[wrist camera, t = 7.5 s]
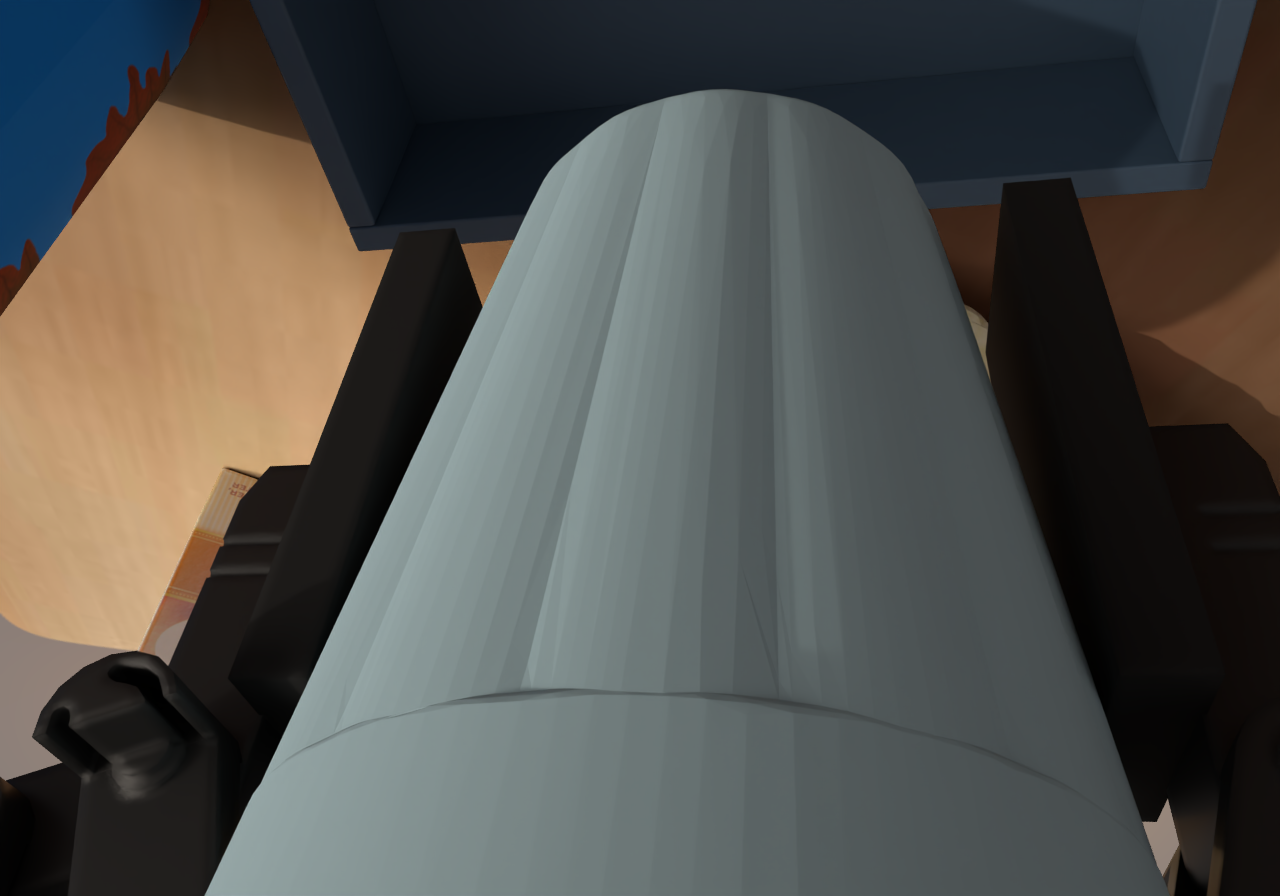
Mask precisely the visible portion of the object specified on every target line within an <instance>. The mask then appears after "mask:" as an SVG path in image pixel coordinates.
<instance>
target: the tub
mask: <svg viewBox="0 0 1280 896" xmlns="http://www.w3.org/2000/svg"><path fill="white" fill-rule="evenodd" d="M249 1H250V3H251V5H252V8H253V10H254V12H255V15H256V17H257V19H258V21H259V24H260V26H261V28H262V31H263V33H264V35H265V37H266V40H267V42H268V44H269V47H270V49H271V51H272V53H273V56H274V58H275V60H276V63H277V65H278V67H279V69H280V72H281V74H282V76H283V79H284V81H285V83H286V85H287V88H288V90H289V92H290V95H291V97H292V99H293V101H294V104H295V106H296V108H297V111H298V113H299V115H300V117H301V120H302V122H303V124H304V127H305V129H306V131H307V133H308V136H309V138H310V140H311V143H312V145H313V147H314V149H315V152H316V154H317V156H318V159H319V161H320V163H321V165H322V168H323V170H324V172H325V175H326V177H327V179H328V181H329V184H330V186H331V188H332V191H333V193H334V195H335V197H336V200H337V202H338V204H339V207H340V209H341V211H342V213H343V216H344V218H345V220H346V223H347V225H348V226H349V227H350V229H349V230H350V232H351V235H352V237H353V239H354V242H355V244H356V246H357V248H358V250H359V251H372V250H385V249H394V246H395V243H396V241H397V238H398V236H399V233H400V232H412V231H424V230H436V229H448V228H455V229H456V232H457V235H458V238H459V241H460V244H466V243H479V242H493V241H506V240H515V238H516V236H517V233H518V231H519V229H520V227H521V225H522V223H523V221H524V218H525V216H526V214H527V212H528V210H529V208H530V206H531V204H532V202H533V200H534V198H535V196H536V194H537V192H538V190H539V188H540V186H541V184H542V182H543V181H544V179H545V177H546V176H547V174H548V173H549V171H550V170H551V169H552V168H553V166H554V165H555V164H556V163H557V162H558V161H559V160H560V159H561V158H562V157H563V156H565V155H566V154H567V153H568V152H569V151H570V150H572V149H573V148H574V147H575V146H576V145H577V144H579V143H580V142H581V141H582V140H583V139H585V138H586V137H587V136H588V135H589V134H591V133H592V132H593V131H594V130H596V129H597V128H598V127H599V126H601V125H602V124H604V123H605V122H607V121H608V120H610V119H611V118H613V117H614V116H616V115H618V114H621V113H623V112H625V111H627V110H629V109H632V108H635V107H638V106H641V105H643V104H647V103H650V102H654V101H657V100H661V99H664V98H668V97H672V96H677V95H681V94H686V93H690V92H695V91H702V90H710V89H736V90H744V91H752V92H760V93H768V94H774V95H779V96H785V97H790V98H796V99H800V100H803V101H807V102H810V103H813V104H816V105H818V106H821V107H823V108H826V109H828V110H830V111H832V112H834V113H836V114H838V115H839V116H841V117H843V118H844V119H846V120H847V121H849V122H851V123H852V124H854V125H855V126H857V127H858V128H860V129H862V130H863V131H864V132H866V133H867V134H869V135H870V136H872V137H873V138H874V139H876V140H877V141H879V142H880V143H881V144H883V145H884V146H885V147H886V148H887V149H889V150H890V151H891V152H892V153H893V154H894V155H895V156H896V157H897V158H898V159H899V160H900V161H901V162H902V164H903V165H904V166H905V168H906V169H907V171H908V173H909V174H910V176H911V177H912V179H913V182H914V184H915V186H916V189H917V191H918V193H919V195H920V196H921V198H922V200H923V201H924V203H925V205H926V206H927V208H928V209H937V208H950V207H964V206H977V205H991V204H1001V199H1002V189H1003V183H1011V182H1024V181H1036V180H1048V179H1060V178H1071V180H1072V183H1073V187H1074V190H1075V193H1076V196H1077V198H1085V197H1099V196H1112V195H1126V194H1139V193H1152V192H1166V191H1179V190H1193V189H1203V188H1205V187H1206V184H1207V181H1208V177H1209V173H1210V170H1211V166H1212V163H1213V161H1212V159H1213V158H1214V155H1215V151H1216V147H1217V144H1218V140H1219V137H1220V133H1221V129H1222V126H1223V122H1224V119H1225V115H1226V111H1227V108H1228V104H1229V101H1230V97H1231V93H1232V90H1233V86H1234V82H1235V79H1236V75H1237V72H1238V68H1239V64H1240V61H1241V57H1242V54H1243V50H1244V46H1245V43H1246V39H1247V36H1248V32H1249V28H1250V25H1251V21H1252V18H1253V14H1254V10H1255V7H1256V3H1257V0H249Z"/></svg>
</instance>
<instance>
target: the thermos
mask: <svg viewBox="0 0 1280 896" xmlns="http://www.w3.org/2000/svg"><path fill="white" fill-rule="evenodd" d="M209 3H210V0H0V316H1V315H2V313H3V312H4V311H5V309H6V308H7V306H8V305H9V304H10V302H11V301H12V299H13V298H14V297H15V295H16V294H17V292H18V291H19V290H20V288H21V287H22V286H23V284H24V283H25V281H26V280H27V279H28V277H29V276H30V274H31V273H32V272H33V270H34V269H35V268H36V266H37V265H38V263H39V262H40V261H41V259H42V258H43V256H44V255H45V254H46V252H47V251H48V250H49V248H50V247H51V245H52V244H53V243H54V241H55V240H56V238H57V237H58V236H59V234H60V233H61V232H62V230H63V229H64V227H65V226H66V225H67V223H68V222H69V220H70V219H71V218H72V216H73V215H74V214H75V212H76V211H77V209H78V208H79V207H80V205H81V204H82V202H83V201H84V200H85V198H86V197H87V196H88V194H89V193H90V191H91V190H92V189H93V187H94V186H95V184H96V183H97V182H98V180H99V179H100V178H101V176H102V175H103V173H104V172H105V171H106V169H107V168H108V166H109V165H110V164H111V162H112V161H113V160H114V158H115V157H116V155H117V154H118V153H119V151H120V150H121V148H122V147H123V146H124V144H125V143H126V142H127V140H128V139H129V137H130V136H131V135H132V133H133V132H134V130H135V129H136V128H137V126H138V125H139V123H140V122H141V121H142V119H143V118H144V117H145V115H146V114H147V112H148V111H149V110H150V108H151V107H152V105H153V104H154V103H155V101H156V100H157V99H158V97H159V96H160V94H161V93H162V92H163V90H164V88H165V87H166V85H167V83H168V82H169V80H170V78H171V76H172V75H173V73H174V71H175V70H176V68H177V66H178V64H179V63H180V61H181V59H182V58H183V56H184V54H185V52H186V51H187V49H188V47H189V46H190V44H191V42H192V40H193V39H194V37H195V35H196V34H197V32H198V30H199V28H200V27H201V25H202V23H203V22H204V20H205V18H206V16H207V15H208V9H209Z"/></svg>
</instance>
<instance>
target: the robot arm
mask: <svg viewBox="0 0 1280 896" xmlns="http://www.w3.org/2000/svg"><path fill="white" fill-rule="evenodd" d="M482 308H483V307H482V304H481V301H480V298H479V295H478V293H477V290H476V287H475V284H474V281H473V278H472V275H471V272H470V270H469V267H468V264H467V261H466V258H465V255H464V252H463V249H462V247H461V244H460V241H459V238H458V235H457V232H456V229H455V228H448V229H436V230H424V231H412V232H400V233H399V236H398V238H397V241H396V243H395V246H394V249H393V251H392V254H391V256H390V259H389V262H388V264H387V267H386V269H385V272H384V274H383V277H382V280H381V282H380V285H379V287H378V290H377V293H376V295H375V298H374V300H373V303H372V306H371V308H370V311H369V313H368V316H367V318H366V321H365V324H364V326H363V329H362V331H361V334H360V337H359V339H358V342H357V344H356V347H355V350H354V352H353V355H352V357H351V360H350V362H349V365H348V368H347V370H346V373H345V375H344V378H343V381H342V383H341V386H340V388H339V391H338V394H337V396H336V399H335V401H334V404H333V406H332V409H331V412H330V414H329V417H328V419H327V422H326V425H325V427H324V430H323V432H322V435H321V438H320V440H319V443H318V445H317V448H316V451H315V453H314V456H313V458H312V461H311V463H310V465H292V466H270V467H269V468H268V469H267V470H266V472H265V473H264V474H263V475H262V476H261V477H260V478H259V479H258V481H257V482H256V483H255V484H254V485H253V486H252V487H251V488H250V490H249V491H248V492H247V493H246V494H245V495H244V496H243V497H242V499H241V500H240V501H239V503H238V505H237V508H236V510H235V512H234V515H233V517H232V519H231V522H230V524H229V526H228V529H227V531H226V533H225V536H224V538H223V540H224V545H223V546H220V547H219V549H218V552H217V554H216V556H215V559H214V561H213V563H212V566H211V568H210V572H211V575H210V577H209V578H206V580H205V582H204V584H203V587H202V589H201V591H200V593H199V596H198V598H197V600H196V603H195V605H194V607H193V610H192V612H191V614H190V617H189V619H188V621H187V624H186V626H185V628H184V631H183V633H182V635H181V638H180V640H179V642H178V644H177V647H176V649H175V651H174V654H173V656H172V658H171V661H170V663H169V665H167V664H166V663H165V662H164V661H163V660H162V659H161V658H160V657H159V656H156V655H152V654H148V653H144V652H140V651H132V652H125V653H118V654H111V655H109V656H107V657H105V658H102V659H100V660H98V661H96V662H94V663H92V664H89V665H87V666H85V667H83V668H82V669H81V670H80V671H79V672H77V673H76V674H75V675H74V676H72V677H71V678H70V679H69V680H67V681H66V682H65V683H64V684H62V685H61V686H60V687H59V688H58V690H57V691H56V692H55V694H54V695H53V696H52V698H51V699H50V700H49V702H48V703H47V704H46V706H45V707H44V708H43V710H42V711H41V714H40V716H39V719H38V722H37V725H36V728H35V730H34V733H33V736H32V737H33V738H34V739H35V740H36V741H37V742H38V743H39V744H41V745H42V746H43V747H45V748H46V749H47V750H48V751H49V752H50V753H52V754H53V755H54V756H55V757H57V758H58V759H59V760H60V761H62V762H63V763H60V764H57V765H54V766H51V767H47V768H44V769H41V770H38V771H35V772H32V773H28V774H26V775H22V776H19V777H16V778H13V779H9V780H6V781H5V780H4V779H2V778H1V777H0V896H205V894H206V892H207V890H208V888H209V886H210V883H211V881H212V879H213V877H214V875H215V873H216V871H217V869H218V866H219V864H220V862H221V860H222V858H223V856H224V854H225V851H226V849H227V847H228V845H229V843H230V841H231V839H232V837H233V834H234V832H235V830H236V828H237V826H238V824H239V822H240V820H241V817H242V815H243V813H244V811H245V809H246V807H247V805H248V803H249V801H250V799H251V797H252V795H253V793H254V792H255V791H256V789H257V788H258V787H259V785H260V784H261V782H262V780H263V778H264V775H265V773H266V771H267V769H268V767H269V765H270V763H271V760H272V758H273V756H274V754H275V752H276V750H277V748H278V745H279V743H280V741H281V739H282V737H283V735H284V733H285V730H286V728H287V726H288V724H289V722H290V720H291V718H292V715H293V713H294V711H295V709H296V707H297V705H298V703H299V700H300V698H301V696H302V694H303V692H304V690H305V688H306V685H307V683H308V681H309V679H310V677H311V675H312V673H313V670H314V668H315V666H316V664H317V662H318V660H319V658H320V655H321V653H322V651H323V649H324V647H325V645H326V643H327V640H328V638H329V636H330V634H331V632H332V630H333V628H334V625H335V623H336V621H337V619H338V617H339V615H340V613H341V610H342V608H343V606H344V604H345V602H346V600H347V598H348V595H349V593H350V591H351V589H352V587H353V585H354V583H355V580H356V578H357V576H358V574H359V572H360V570H361V568H362V565H363V563H364V561H365V559H366V557H367V555H368V553H369V550H370V548H371V546H372V544H373V542H374V540H375V538H376V535H377V533H378V531H379V529H380V527H381V525H382V523H383V520H384V518H385V516H386V514H387V512H388V510H389V508H390V505H391V503H392V501H393V499H394V497H395V495H396V493H397V490H398V488H399V486H400V484H401V482H402V480H403V478H404V475H405V473H406V471H407V469H408V467H409V465H410V462H411V460H412V458H413V456H414V454H415V452H416V450H417V447H418V445H419V443H420V441H421V439H422V437H423V435H424V432H425V430H426V428H427V426H428V424H429V422H430V420H431V417H432V415H433V413H434V411H435V409H436V407H437V405H438V402H439V400H440V398H441V396H442V394H443V392H444V390H445V387H446V385H447V383H448V381H449V379H450V377H451V375H452V372H453V370H454V368H455V366H456V364H457V362H458V360H459V357H460V355H461V353H462V351H463V349H464V347H465V345H466V342H467V340H468V338H469V336H470V334H471V332H472V330H473V327H474V325H475V323H476V321H477V319H478V317H479V315H480V312H481V310H482ZM985 353H986V359H987V364H988V369H989V375H990V380H991V384H992V387H993V390H994V393H995V396H996V399H997V402H998V405H999V408H1000V410H1001V413H1002V416H1003V419H1004V422H1005V425H1006V428H1007V431H1008V434H1009V437H1010V440H1011V442H1012V445H1013V448H1014V451H1015V454H1016V457H1017V460H1018V463H1019V466H1020V469H1021V471H1022V474H1023V477H1024V480H1025V483H1026V486H1027V489H1028V492H1029V495H1030V498H1031V501H1032V503H1033V506H1034V509H1035V512H1036V515H1037V518H1038V521H1039V524H1040V527H1041V530H1042V532H1043V535H1044V538H1045V541H1046V544H1047V547H1048V550H1049V553H1050V556H1051V559H1052V562H1053V564H1054V567H1055V570H1056V573H1057V576H1058V579H1059V582H1060V585H1061V588H1062V591H1063V594H1064V596H1065V599H1066V602H1067V605H1068V608H1069V611H1070V614H1071V617H1072V620H1073V623H1074V625H1075V628H1076V631H1077V634H1078V637H1079V640H1080V643H1081V646H1082V649H1083V652H1084V655H1085V657H1086V660H1087V663H1088V666H1089V669H1090V672H1091V675H1092V678H1093V681H1094V684H1095V686H1096V689H1097V692H1098V695H1099V698H1100V701H1101V704H1102V707H1103V710H1104V713H1105V716H1106V718H1107V721H1108V724H1109V727H1110V730H1111V733H1112V736H1113V739H1114V742H1115V745H1116V747H1117V750H1118V753H1119V756H1120V759H1121V762H1122V765H1123V768H1124V771H1125V774H1126V777H1127V779H1128V782H1129V785H1130V788H1131V791H1132V794H1133V797H1134V800H1135V803H1136V806H1137V808H1138V811H1139V814H1140V817H1141V820H1142V822H1145V821H1146V822H1157V820H1158V818H1159V816H1160V814H1161V811H1162V809H1163V807H1164V805H1165V803H1166V801H1167V799H1168V800H1169V805H1170V809H1171V813H1172V817H1173V820H1174V825H1175V829H1176V833H1177V837H1178V840H1179V846H1178V848H1177V850H1176V852H1175V854H1174V856H1173V858H1172V859H1171V861H1170V863H1169V865H1168V867H1167V869H1166V871H1165V873H1164V875H1163V879H1164V881H1165V883H1166V886H1167V889H1168V892H1169V895H1170V896H1280V496H1279V494H1278V491H1277V489H1276V486H1275V484H1274V481H1273V479H1272V476H1271V474H1270V471H1269V469H1268V466H1267V464H1266V461H1265V460H1264V459H1263V458H1262V457H1261V456H1260V455H1259V454H1258V453H1257V452H1256V451H1255V450H1254V449H1253V448H1252V447H1251V446H1250V445H1249V444H1248V443H1247V442H1246V441H1245V440H1244V439H1243V438H1242V437H1241V436H1240V435H1239V434H1238V433H1237V432H1236V431H1235V430H1234V429H1233V428H1232V427H1231V426H1230V425H1229V424H1228V423H1226V424H1203V425H1179V426H1155V427H1149V426H1148V423H1147V420H1146V417H1145V413H1144V410H1143V407H1142V404H1141V401H1140V397H1139V394H1138V391H1137V388H1136V385H1135V381H1134V378H1133V375H1132V372H1131V369H1130V366H1129V362H1128V359H1127V356H1126V353H1125V350H1124V346H1123V343H1122V340H1121V337H1120V334H1119V330H1118V327H1117V324H1116V321H1115V318H1114V314H1113V311H1112V308H1111V305H1110V302H1109V298H1108V295H1107V292H1106V289H1105V286H1104V282H1103V279H1102V276H1101V273H1100V270H1099V266H1098V263H1097V260H1096V257H1095V254H1094V250H1093V247H1092V244H1091V241H1090V238H1089V234H1088V231H1087V228H1086V225H1085V222H1084V218H1083V215H1082V212H1081V209H1080V206H1079V202H1078V199H1077V196H1076V193H1075V190H1074V187H1073V183H1072V180H1071V178H1060V179H1048V180H1036V181H1024V182H1011V183H1003V189H1002V199H1001V208H1000V218H999V227H998V237H997V246H996V256H995V265H994V275H993V284H992V294H991V303H990V313H989V322H988V332H987V341H986V351H985Z"/></svg>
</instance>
